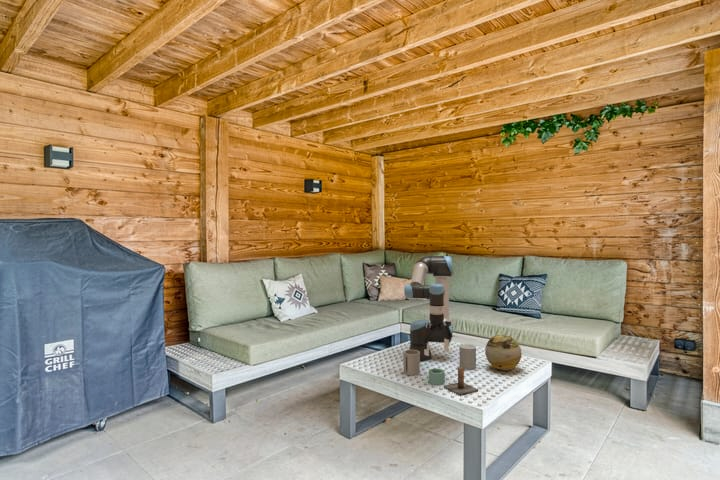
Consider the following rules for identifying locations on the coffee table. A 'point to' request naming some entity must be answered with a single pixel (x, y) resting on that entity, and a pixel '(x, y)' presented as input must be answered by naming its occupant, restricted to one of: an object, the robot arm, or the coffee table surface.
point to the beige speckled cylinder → (467, 357)
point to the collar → (436, 376)
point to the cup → (411, 362)
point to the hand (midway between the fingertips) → (436, 353)
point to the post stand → (461, 385)
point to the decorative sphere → (503, 352)
